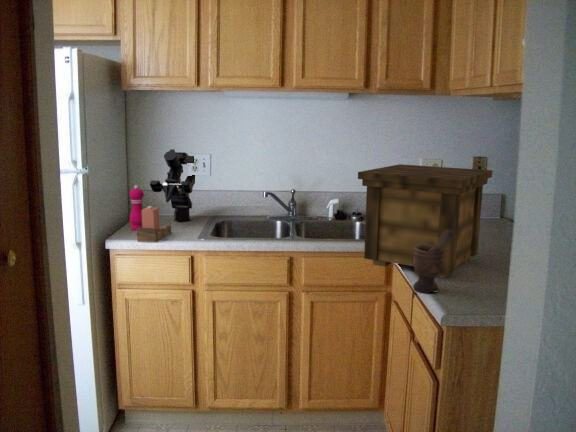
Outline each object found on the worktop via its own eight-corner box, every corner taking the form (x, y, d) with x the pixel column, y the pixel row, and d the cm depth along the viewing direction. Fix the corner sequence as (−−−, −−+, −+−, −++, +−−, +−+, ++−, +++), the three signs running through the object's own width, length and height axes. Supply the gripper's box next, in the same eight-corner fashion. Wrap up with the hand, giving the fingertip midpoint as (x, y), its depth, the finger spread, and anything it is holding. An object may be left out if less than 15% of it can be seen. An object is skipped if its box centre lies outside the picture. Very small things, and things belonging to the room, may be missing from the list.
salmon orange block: (148, 230, 220) (147, 204, 218) (159, 231, 219) (158, 205, 217) (142, 233, 214) (141, 207, 212) (154, 234, 213) (153, 207, 211)
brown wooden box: (153, 232, 229) (153, 219, 228) (171, 232, 228) (170, 220, 227) (137, 241, 213) (136, 228, 212) (156, 242, 212) (155, 229, 210)
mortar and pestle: (454, 290, 157) (459, 225, 153) (447, 298, 149) (452, 230, 146) (416, 283, 162) (420, 221, 159) (407, 291, 155) (411, 226, 151)
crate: (454, 284, 162) (462, 180, 156) (354, 265, 182) (358, 172, 176) (485, 259, 190) (492, 170, 184) (395, 245, 210) (399, 164, 204)
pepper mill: (136, 231, 230) (134, 186, 226) (126, 229, 235) (124, 185, 231) (149, 228, 236) (147, 185, 232) (139, 226, 240) (137, 183, 236)
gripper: (198, 185, 247) (191, 212, 239) (160, 184, 250) (152, 211, 241) (192, 170, 238) (185, 198, 229) (153, 169, 240) (144, 197, 232)
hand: (167, 201), depth 233 cm, fingers closed
